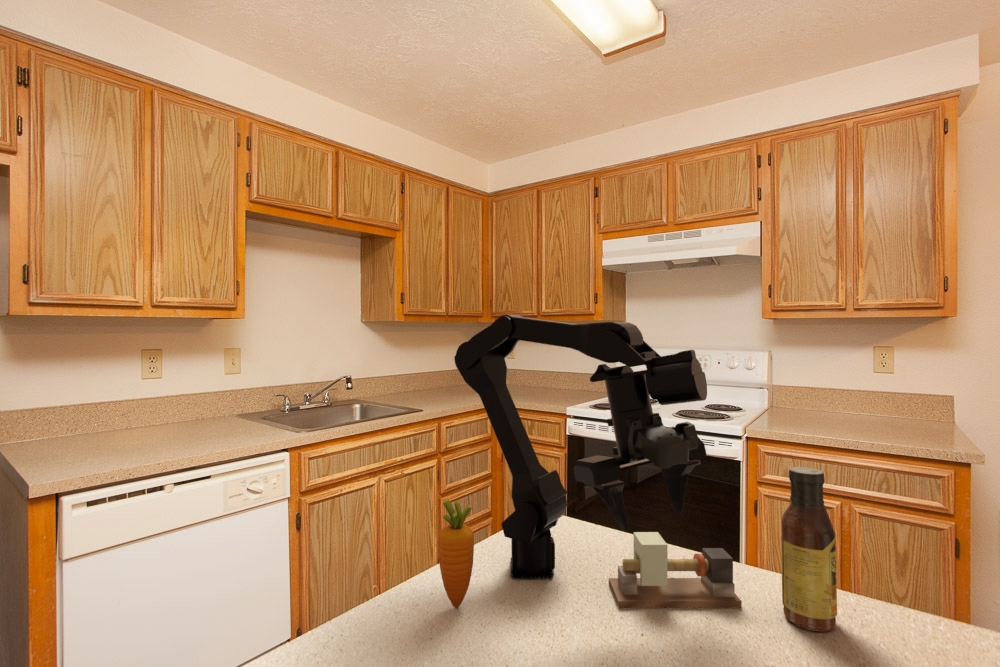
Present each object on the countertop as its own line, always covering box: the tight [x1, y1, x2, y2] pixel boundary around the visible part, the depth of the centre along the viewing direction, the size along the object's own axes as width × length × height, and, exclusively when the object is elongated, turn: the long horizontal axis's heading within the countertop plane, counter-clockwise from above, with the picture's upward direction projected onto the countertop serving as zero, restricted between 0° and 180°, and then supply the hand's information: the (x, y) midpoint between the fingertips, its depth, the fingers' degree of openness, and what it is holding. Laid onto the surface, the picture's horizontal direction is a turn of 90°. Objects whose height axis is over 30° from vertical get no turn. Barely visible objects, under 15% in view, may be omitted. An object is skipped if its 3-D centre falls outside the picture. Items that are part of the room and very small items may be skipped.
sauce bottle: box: [780, 466, 838, 633], centre depth 66 cm, size 7×6×20 cm
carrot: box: [437, 499, 475, 609], centre depth 70 cm, size 5×5×15 cm
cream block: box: [633, 531, 668, 586], centre depth 73 cm, size 4×4×6 cm
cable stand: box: [608, 547, 743, 609], centre depth 73 cm, size 17×6×6 cm, turn 90°
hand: (652, 521), depth 69 cm, fingers open, 9 cm apart
